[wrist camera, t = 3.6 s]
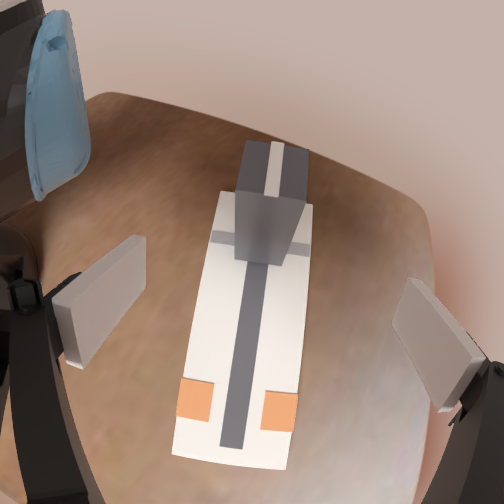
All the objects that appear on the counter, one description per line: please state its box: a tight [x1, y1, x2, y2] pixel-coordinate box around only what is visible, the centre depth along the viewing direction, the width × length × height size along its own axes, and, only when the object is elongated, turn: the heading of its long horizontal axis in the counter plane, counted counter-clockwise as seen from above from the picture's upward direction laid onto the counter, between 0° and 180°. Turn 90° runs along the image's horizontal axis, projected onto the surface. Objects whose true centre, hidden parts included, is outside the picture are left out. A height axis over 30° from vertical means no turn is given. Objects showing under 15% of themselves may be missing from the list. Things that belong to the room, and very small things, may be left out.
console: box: [172, 191, 313, 470], centre depth 25 cm, size 24×9×2 cm, turn 172°
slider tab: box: [234, 140, 309, 266], centre depth 22 cm, size 4×4×10 cm
